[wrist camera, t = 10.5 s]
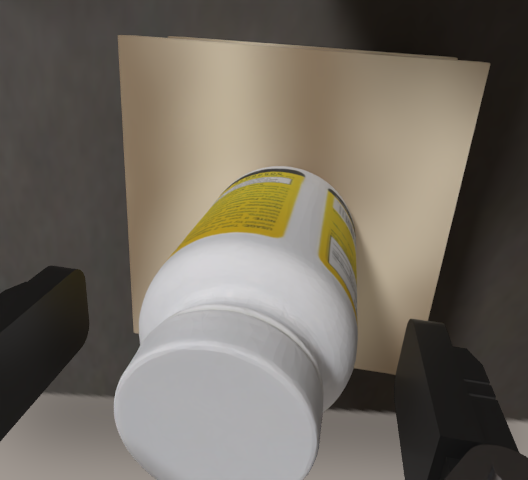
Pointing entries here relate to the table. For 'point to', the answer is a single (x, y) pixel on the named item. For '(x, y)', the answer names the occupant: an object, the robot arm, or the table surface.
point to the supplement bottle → (245, 335)
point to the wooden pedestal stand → (303, 155)
